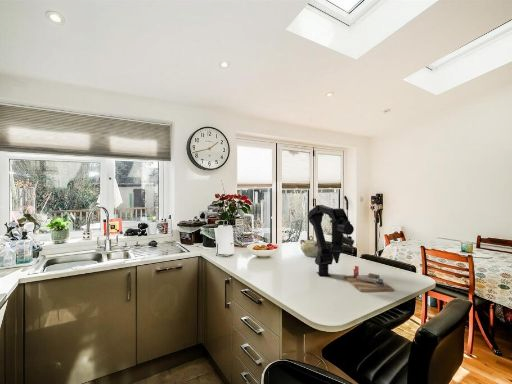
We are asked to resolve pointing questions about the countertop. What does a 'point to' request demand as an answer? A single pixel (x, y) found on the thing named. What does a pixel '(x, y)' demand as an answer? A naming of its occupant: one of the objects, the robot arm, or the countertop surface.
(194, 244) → the countertop surface
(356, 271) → the lever
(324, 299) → the countertop surface
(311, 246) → the sugar bowl
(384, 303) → the countertop surface
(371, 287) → the cracker base
